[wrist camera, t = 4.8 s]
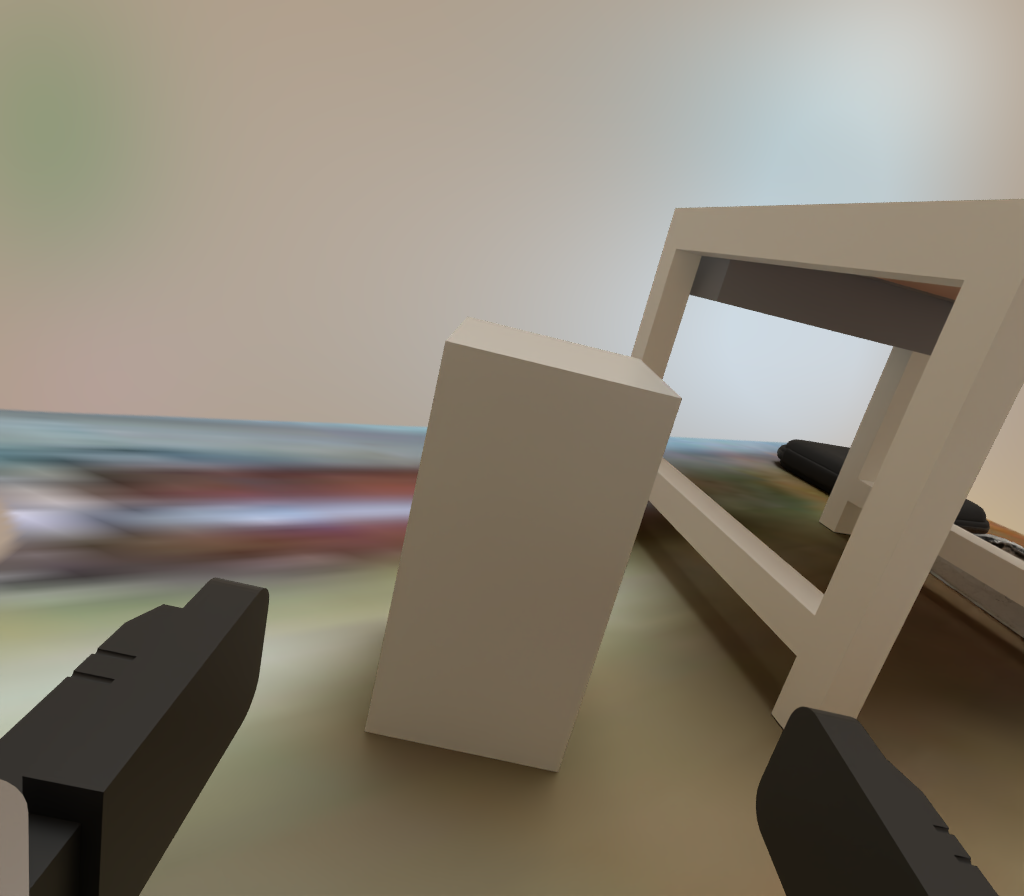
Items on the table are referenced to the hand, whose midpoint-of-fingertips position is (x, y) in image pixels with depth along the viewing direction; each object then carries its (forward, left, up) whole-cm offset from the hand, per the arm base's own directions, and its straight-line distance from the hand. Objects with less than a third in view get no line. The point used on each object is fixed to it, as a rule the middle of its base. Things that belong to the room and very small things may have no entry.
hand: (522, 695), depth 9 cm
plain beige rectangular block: (-1, -7, -6) cm, 9 cm away
